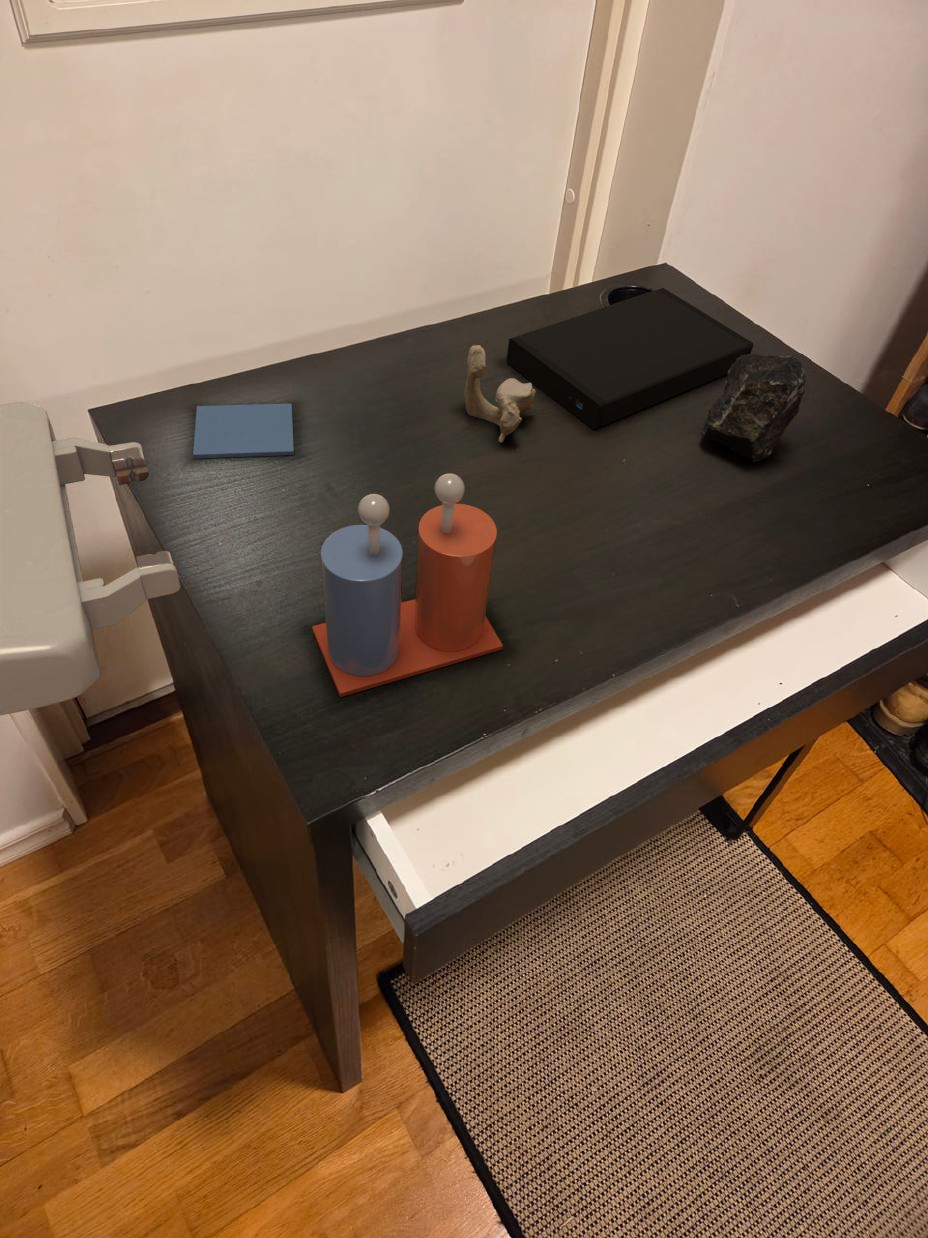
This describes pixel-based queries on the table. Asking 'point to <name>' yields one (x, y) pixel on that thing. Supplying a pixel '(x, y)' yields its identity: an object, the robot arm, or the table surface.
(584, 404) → the external hard drive
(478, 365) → the bone
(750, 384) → the rock
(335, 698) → the table surface
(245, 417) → the blue mat
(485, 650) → the red mat
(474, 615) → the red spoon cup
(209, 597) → the table surface
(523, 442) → the table surface
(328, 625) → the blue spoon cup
